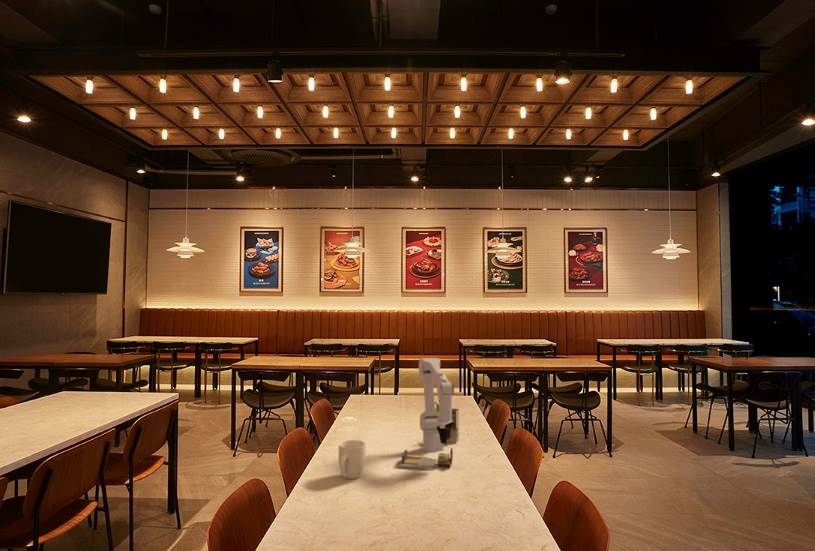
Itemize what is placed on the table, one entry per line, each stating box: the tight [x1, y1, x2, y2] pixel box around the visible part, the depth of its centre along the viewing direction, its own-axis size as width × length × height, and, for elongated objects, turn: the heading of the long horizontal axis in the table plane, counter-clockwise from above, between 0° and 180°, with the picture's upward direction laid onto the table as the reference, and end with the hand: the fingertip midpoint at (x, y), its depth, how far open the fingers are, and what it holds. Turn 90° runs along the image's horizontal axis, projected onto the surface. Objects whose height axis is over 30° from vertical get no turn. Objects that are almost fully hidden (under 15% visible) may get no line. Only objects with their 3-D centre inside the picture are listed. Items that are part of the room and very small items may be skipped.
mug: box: [338, 439, 367, 480], centre depth 181 cm, size 15×11×13 cm
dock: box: [398, 449, 438, 472], centre depth 197 cm, size 15×14×4 cm
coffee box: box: [446, 407, 460, 444], centre depth 232 cm, size 9×6×16 cm
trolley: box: [436, 448, 454, 468], centre depth 196 cm, size 6×6×7 cm
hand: (445, 440), depth 197 cm, fingers open, 7 cm apart
